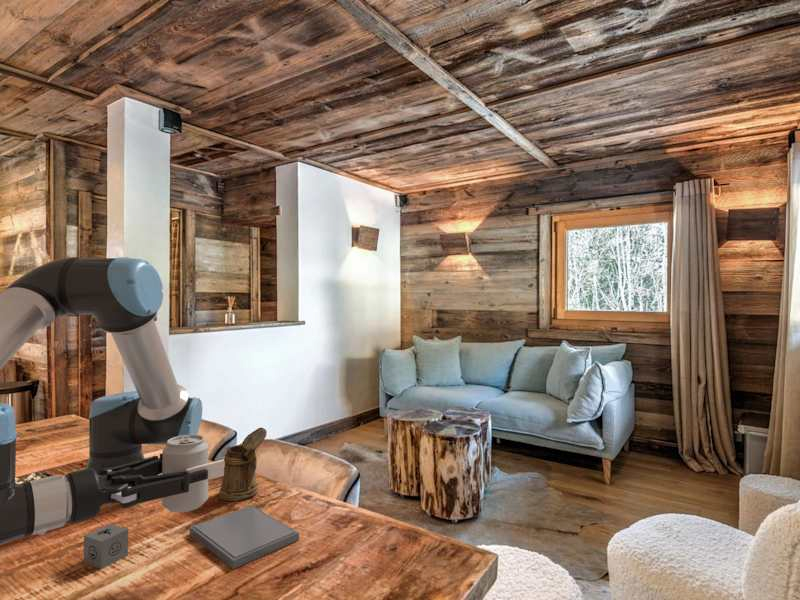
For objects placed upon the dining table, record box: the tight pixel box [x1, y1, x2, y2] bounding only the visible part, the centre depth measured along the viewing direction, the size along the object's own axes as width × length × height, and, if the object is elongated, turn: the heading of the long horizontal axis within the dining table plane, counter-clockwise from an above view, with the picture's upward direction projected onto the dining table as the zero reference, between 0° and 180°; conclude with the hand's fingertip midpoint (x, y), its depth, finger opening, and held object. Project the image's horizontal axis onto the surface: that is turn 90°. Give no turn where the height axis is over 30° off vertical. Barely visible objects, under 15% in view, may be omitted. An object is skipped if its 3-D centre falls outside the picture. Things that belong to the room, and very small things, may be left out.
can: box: [161, 434, 209, 514], centre depth 85 cm, size 8×8×12 cm
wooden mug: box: [218, 427, 268, 502], centre depth 115 cm, size 9×14×18 cm, turn 50°
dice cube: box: [83, 523, 129, 570], centre depth 87 cm, size 5×5×5 cm
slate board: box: [189, 505, 300, 570], centre depth 95 cm, size 18×14×2 cm
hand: (212, 462), depth 88 cm, fingers closed on can, 7 cm apart
